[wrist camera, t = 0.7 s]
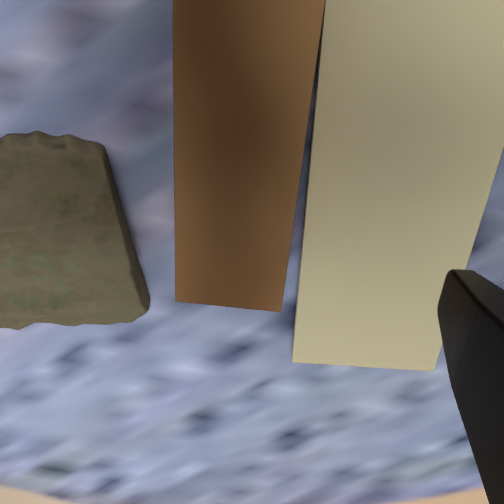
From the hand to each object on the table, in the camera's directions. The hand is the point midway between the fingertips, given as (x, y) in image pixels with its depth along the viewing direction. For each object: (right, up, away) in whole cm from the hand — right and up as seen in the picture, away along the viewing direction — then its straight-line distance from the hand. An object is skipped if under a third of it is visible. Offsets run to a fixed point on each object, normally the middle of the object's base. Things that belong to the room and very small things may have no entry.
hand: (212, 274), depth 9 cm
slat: (+1, +6, +9) cm, 11 cm away
